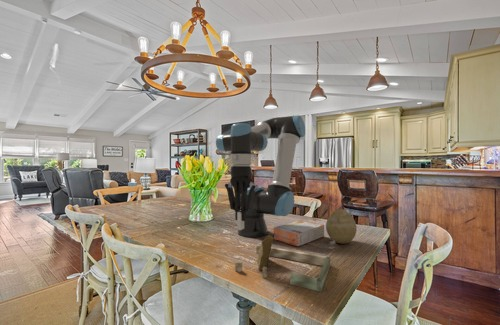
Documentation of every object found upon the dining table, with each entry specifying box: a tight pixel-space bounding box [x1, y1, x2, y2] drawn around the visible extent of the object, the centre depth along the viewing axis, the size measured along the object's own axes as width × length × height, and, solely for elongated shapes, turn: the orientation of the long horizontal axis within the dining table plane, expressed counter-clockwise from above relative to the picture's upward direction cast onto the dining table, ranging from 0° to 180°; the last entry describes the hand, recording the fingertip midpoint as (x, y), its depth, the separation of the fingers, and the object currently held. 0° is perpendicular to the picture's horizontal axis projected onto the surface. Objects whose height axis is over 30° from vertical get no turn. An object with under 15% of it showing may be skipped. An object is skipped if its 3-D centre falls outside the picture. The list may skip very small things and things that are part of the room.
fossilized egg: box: [325, 208, 357, 244], centre depth 105 cm, size 13×13×15 cm
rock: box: [256, 234, 274, 271], centre depth 84 cm, size 11×9×10 cm
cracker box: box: [273, 219, 325, 247], centre depth 112 cm, size 14×6×21 cm
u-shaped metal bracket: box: [234, 244, 331, 292], centre depth 81 cm, size 28×18×3 cm, turn 63°
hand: (240, 229), depth 88 cm, fingers closed
